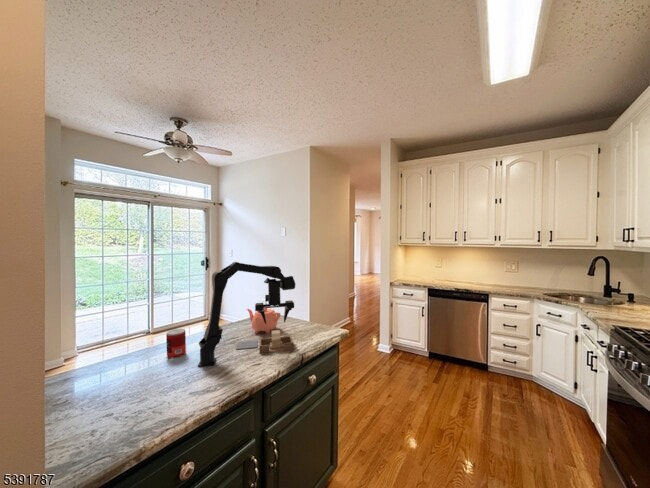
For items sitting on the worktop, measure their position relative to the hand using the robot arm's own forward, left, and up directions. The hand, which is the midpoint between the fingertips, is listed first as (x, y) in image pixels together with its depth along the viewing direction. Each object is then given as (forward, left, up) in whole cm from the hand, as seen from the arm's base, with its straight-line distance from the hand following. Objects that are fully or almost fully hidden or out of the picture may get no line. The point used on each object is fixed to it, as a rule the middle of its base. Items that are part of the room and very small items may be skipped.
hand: (275, 323), depth 134 cm
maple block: (0, 0, -10) cm, 10 cm away
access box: (0, 0, -12) cm, 12 cm away
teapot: (+29, +6, -13) cm, 32 cm away
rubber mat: (+8, +14, -12) cm, 20 cm away
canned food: (+5, +46, -13) cm, 48 cm away
